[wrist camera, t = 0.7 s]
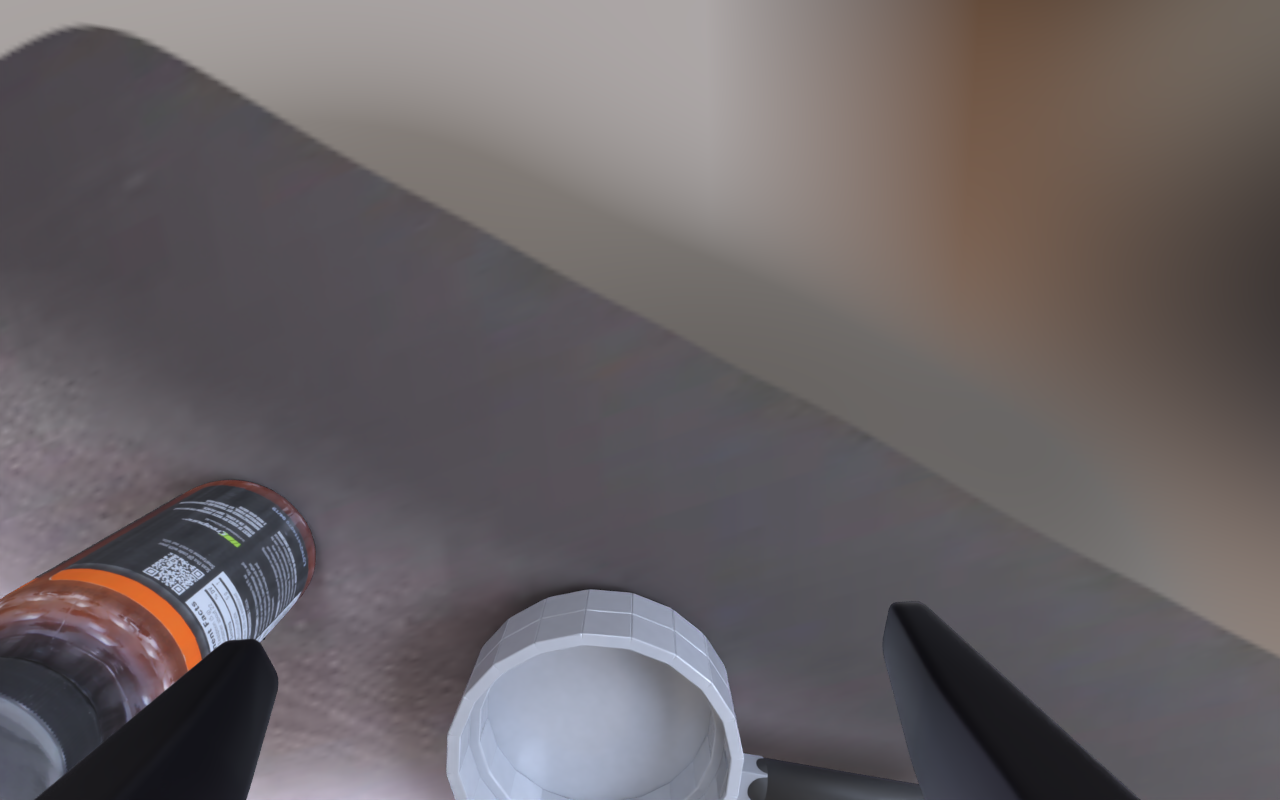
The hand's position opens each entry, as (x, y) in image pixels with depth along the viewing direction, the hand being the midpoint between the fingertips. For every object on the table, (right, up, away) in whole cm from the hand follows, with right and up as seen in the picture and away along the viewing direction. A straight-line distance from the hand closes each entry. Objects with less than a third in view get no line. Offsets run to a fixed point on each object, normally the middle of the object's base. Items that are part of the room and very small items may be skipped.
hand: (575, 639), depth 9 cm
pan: (-1, -9, +19) cm, 21 cm away
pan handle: (+10, -12, +17) cm, 23 cm away
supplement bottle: (-15, -2, +17) cm, 23 cm away
